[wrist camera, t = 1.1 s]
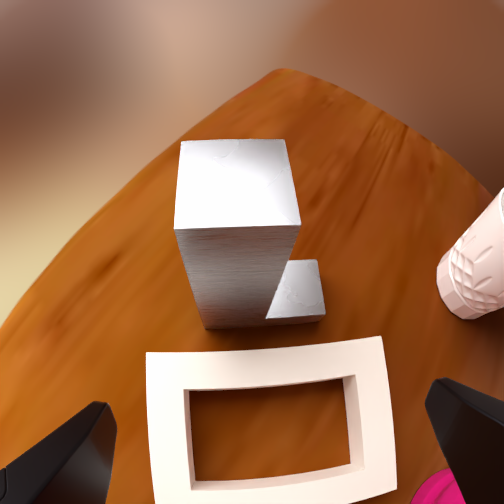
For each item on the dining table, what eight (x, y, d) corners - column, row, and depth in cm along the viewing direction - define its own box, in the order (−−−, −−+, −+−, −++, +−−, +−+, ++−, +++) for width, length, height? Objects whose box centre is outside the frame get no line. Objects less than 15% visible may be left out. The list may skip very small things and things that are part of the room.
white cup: (481, 252, 26) (541, 197, 17) (494, 326, 22) (570, 284, 13) (424, 243, 26) (486, 174, 17) (435, 326, 22) (519, 277, 13)
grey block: (317, 321, 22) (406, 224, 10) (204, 328, 21) (173, 229, 10) (310, 270, 24) (375, 145, 12) (203, 275, 23) (181, 141, 11)
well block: (380, 482, 16) (396, 489, 14) (165, 507, 15) (157, 518, 13) (366, 343, 21) (381, 335, 19) (155, 358, 20) (146, 352, 18)
